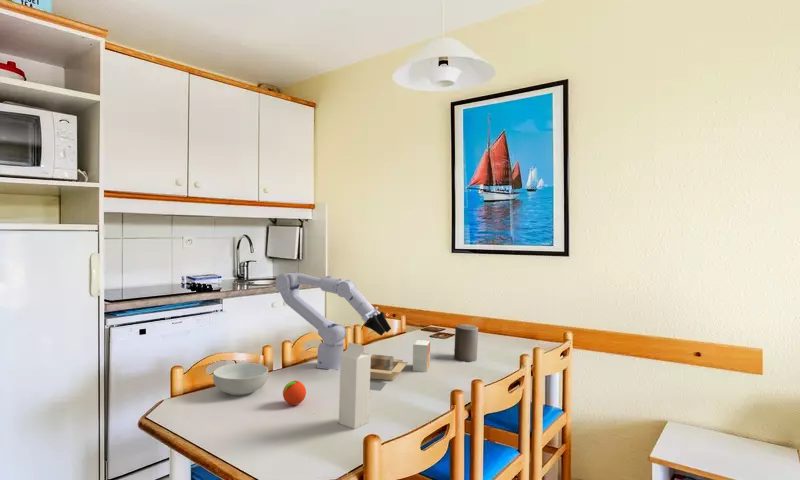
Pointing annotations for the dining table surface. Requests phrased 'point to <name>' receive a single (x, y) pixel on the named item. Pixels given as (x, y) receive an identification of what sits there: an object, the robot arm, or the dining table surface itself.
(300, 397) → the clementine
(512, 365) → the dining table surface
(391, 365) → the block
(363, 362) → the milk
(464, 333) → the pillar candle
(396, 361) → the tan shallow tray
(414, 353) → the small box
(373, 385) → the mat
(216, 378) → the cereal bowl
